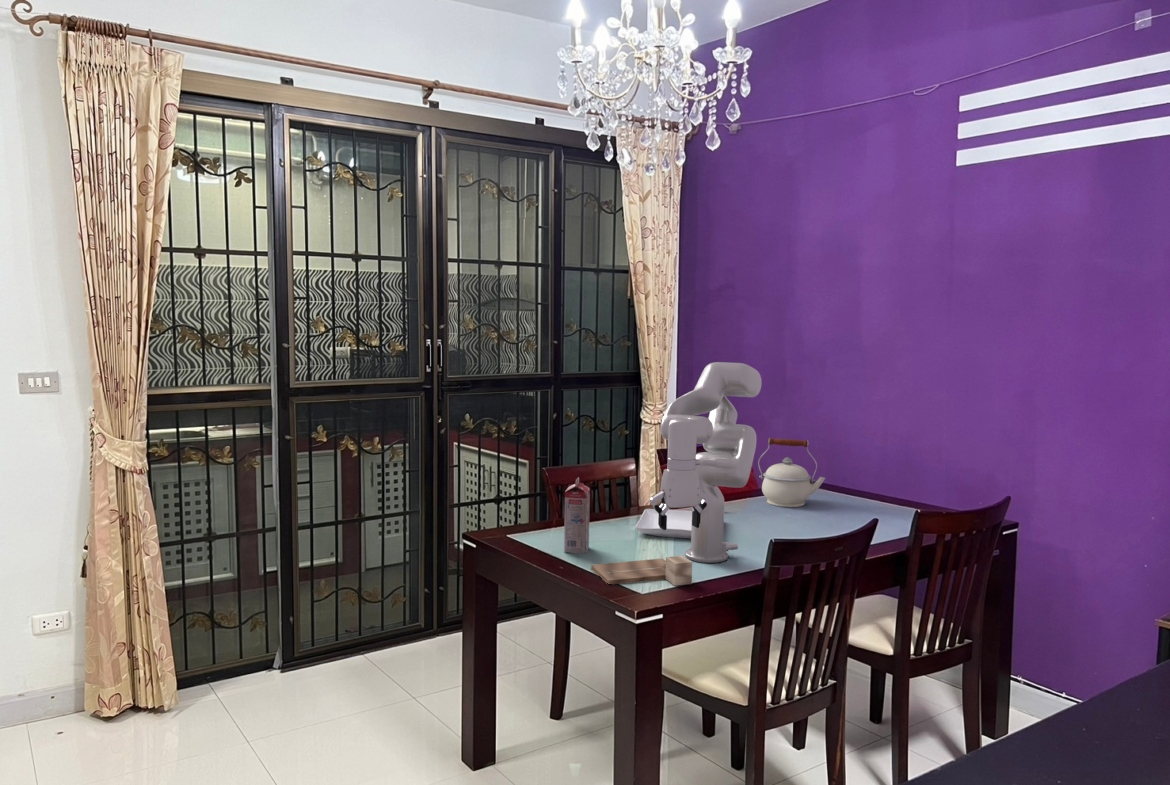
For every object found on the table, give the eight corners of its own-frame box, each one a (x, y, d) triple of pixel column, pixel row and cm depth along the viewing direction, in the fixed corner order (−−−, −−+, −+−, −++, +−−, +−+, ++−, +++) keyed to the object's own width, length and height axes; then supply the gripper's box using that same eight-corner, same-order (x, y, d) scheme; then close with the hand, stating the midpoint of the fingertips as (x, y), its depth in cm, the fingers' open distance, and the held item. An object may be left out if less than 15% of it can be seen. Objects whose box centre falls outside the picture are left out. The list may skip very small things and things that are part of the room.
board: (662, 562, 244) (662, 558, 244) (682, 577, 231) (683, 572, 230) (591, 569, 237) (591, 564, 236) (608, 584, 223) (608, 580, 223)
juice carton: (564, 552, 252) (565, 480, 250) (567, 546, 259) (568, 476, 256) (585, 553, 251) (586, 481, 249) (588, 547, 258) (589, 477, 256)
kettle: (754, 506, 315) (757, 440, 312) (759, 495, 332) (761, 433, 330) (823, 511, 308) (826, 445, 305) (824, 500, 325) (827, 437, 322)
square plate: (719, 544, 265) (719, 532, 264) (633, 538, 270) (634, 526, 270) (722, 522, 291) (722, 511, 291) (644, 517, 297) (645, 507, 296)
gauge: (672, 570, 236) (673, 549, 235) (691, 583, 224) (692, 562, 224) (656, 571, 234) (657, 551, 233) (674, 585, 223) (675, 563, 222)
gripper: (704, 461, 229) (701, 522, 231) (646, 463, 224) (644, 526, 225) (716, 466, 222) (714, 529, 224) (657, 468, 217) (655, 533, 218)
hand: (679, 527), depth 224 cm, fingers open, 9 cm apart
